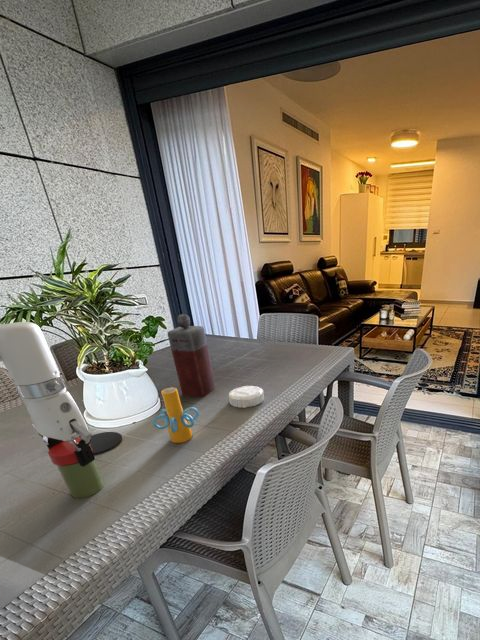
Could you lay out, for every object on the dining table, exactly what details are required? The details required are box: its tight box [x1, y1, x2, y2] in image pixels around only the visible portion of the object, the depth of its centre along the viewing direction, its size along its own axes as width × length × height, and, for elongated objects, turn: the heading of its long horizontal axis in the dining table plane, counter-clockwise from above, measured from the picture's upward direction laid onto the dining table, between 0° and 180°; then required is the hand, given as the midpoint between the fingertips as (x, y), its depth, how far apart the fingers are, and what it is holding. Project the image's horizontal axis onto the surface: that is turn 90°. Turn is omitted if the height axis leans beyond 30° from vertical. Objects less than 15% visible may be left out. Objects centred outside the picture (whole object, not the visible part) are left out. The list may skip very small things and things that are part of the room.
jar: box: [56, 460, 105, 499], centre depth 80 cm, size 7×7×11 cm
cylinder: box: [152, 387, 200, 444], centre depth 98 cm, size 12×10×15 cm
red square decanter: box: [167, 314, 217, 398], centre depth 125 cm, size 9×11×28 cm
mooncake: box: [227, 385, 265, 409], centre depth 122 cm, size 12×12×4 cm
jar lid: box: [47, 437, 92, 466], centre depth 78 cm, size 8×8×2 cm
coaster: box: [90, 431, 123, 456], centre depth 100 cm, size 12×12×1 cm
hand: (74, 459), depth 79 cm, fingers closed on jar lid, 7 cm apart
